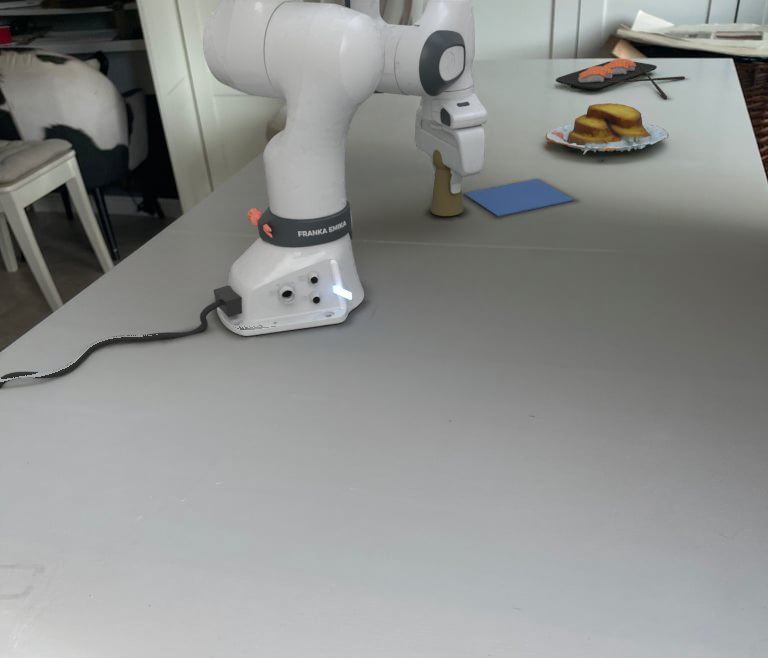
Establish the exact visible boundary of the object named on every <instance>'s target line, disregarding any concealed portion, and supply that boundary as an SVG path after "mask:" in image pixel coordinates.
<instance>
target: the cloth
mask: <svg viewBox="0 0 768 658" xmlns="http://www.w3.org/2000/svg"><path fill="white" fill-rule="evenodd" d="M464 196H465V197H467V198H468V199H470V200H471V201H472V202H474V203H476V204H477V205H479V206H480V207H481V208H483V209H485V210H486V211H488V213H491V214H493V215H494V216H495V217H497V218H500V217H505V216H509V215H514V214H519V213H522V212H529V211H532V210H536V209H542V208H547V207H551V206H555V205H560V204H565V203H570V202H573V201H574V199H573V198H572V197H570V196H568V195H566V194H564V193H563V192H562V191H559V190H557V189H555V188H554V187H552V186H550V185H549V184H546V183H545V182H544V181H541V180H539V179H537V178H534V179H531V180H526V181H521V182H520V181H519V182H515V183H512V184H511V183H510V184H505V185H501V186H495V187H491V188H485V189H481V190H476V191H471V192H465V193H464Z"/></svg>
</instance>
